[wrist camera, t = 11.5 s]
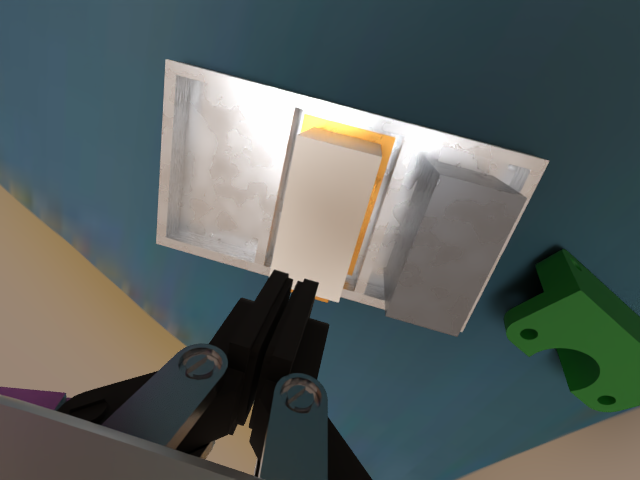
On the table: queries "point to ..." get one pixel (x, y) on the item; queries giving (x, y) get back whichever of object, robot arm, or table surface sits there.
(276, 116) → the grey compartment tray
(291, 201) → the cream upright block
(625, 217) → the table surface
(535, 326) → the clamp
